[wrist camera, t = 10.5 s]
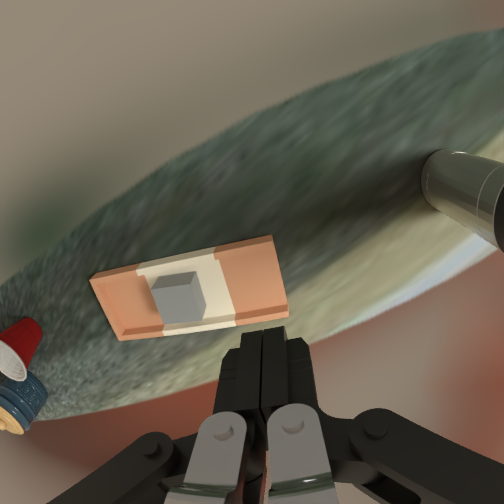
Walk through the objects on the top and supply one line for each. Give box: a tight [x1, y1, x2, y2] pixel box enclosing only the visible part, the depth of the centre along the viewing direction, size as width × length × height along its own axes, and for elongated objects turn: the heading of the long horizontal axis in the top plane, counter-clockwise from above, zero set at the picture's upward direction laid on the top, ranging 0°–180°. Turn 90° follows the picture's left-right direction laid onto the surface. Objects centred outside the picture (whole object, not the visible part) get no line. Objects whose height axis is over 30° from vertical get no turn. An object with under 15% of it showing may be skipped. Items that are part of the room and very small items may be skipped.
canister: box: [0, 371, 48, 434], centre depth 54 cm, size 13×13×18 cm
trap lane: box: [89, 235, 289, 341], centre depth 46 cm, size 29×12×2 cm, turn 104°
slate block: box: [150, 271, 206, 324], centre depth 45 cm, size 6×6×4 cm
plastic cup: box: [0, 317, 42, 381], centre depth 48 cm, size 11×11×12 cm
